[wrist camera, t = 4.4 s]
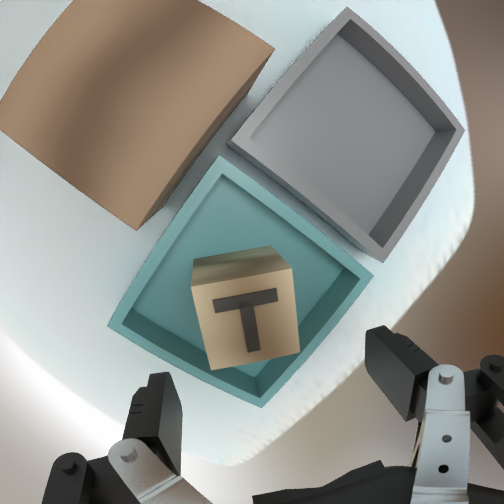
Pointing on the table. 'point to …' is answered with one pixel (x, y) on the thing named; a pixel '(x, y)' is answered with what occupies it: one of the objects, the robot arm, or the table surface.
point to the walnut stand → (130, 96)
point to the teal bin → (225, 241)
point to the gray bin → (353, 134)
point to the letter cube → (245, 306)
